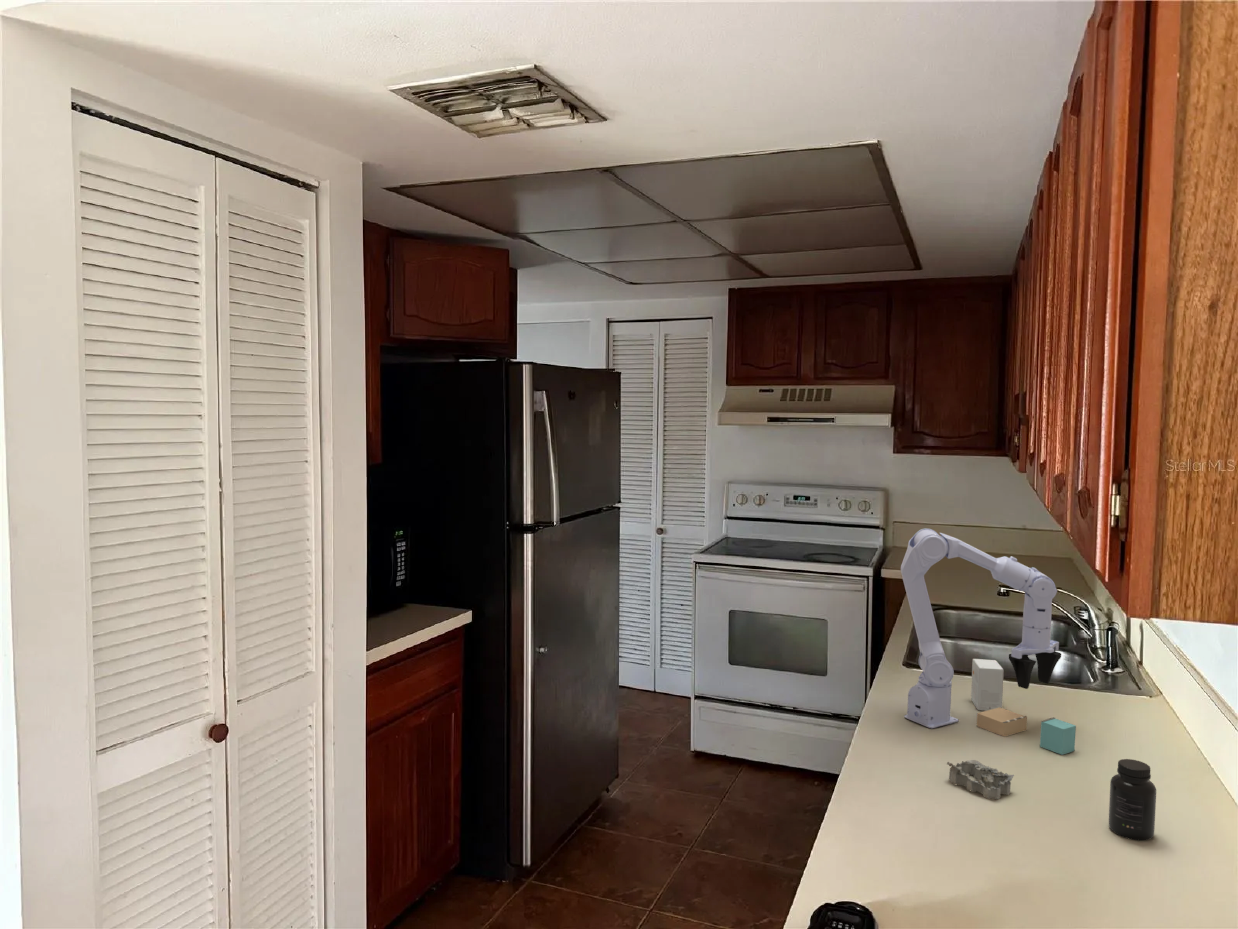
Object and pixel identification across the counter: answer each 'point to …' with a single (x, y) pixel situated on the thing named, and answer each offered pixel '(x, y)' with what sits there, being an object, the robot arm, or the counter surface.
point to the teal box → (1057, 736)
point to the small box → (987, 684)
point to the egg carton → (980, 778)
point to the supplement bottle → (1132, 801)
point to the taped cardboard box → (1002, 721)
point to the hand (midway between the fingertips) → (1033, 684)
